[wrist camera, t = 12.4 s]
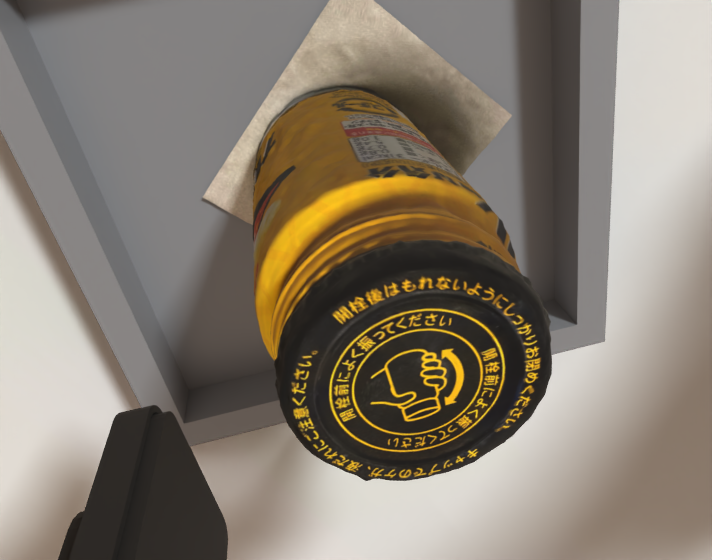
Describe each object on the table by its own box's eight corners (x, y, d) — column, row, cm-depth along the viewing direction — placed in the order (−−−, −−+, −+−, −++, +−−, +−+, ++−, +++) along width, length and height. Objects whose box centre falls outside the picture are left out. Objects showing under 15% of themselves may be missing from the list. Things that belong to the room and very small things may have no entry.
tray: (-60, -78, 16) (-108, -82, 14) (580, -213, 17) (629, -237, 15) (171, 410, 25) (164, 453, 23) (575, 309, 26) (604, 341, 24)
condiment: (202, 195, 20) (153, 445, 10) (344, -25, 18) (473, 11, 7) (366, 289, 23) (457, 558, 13) (508, 113, 21) (764, 275, 10)
